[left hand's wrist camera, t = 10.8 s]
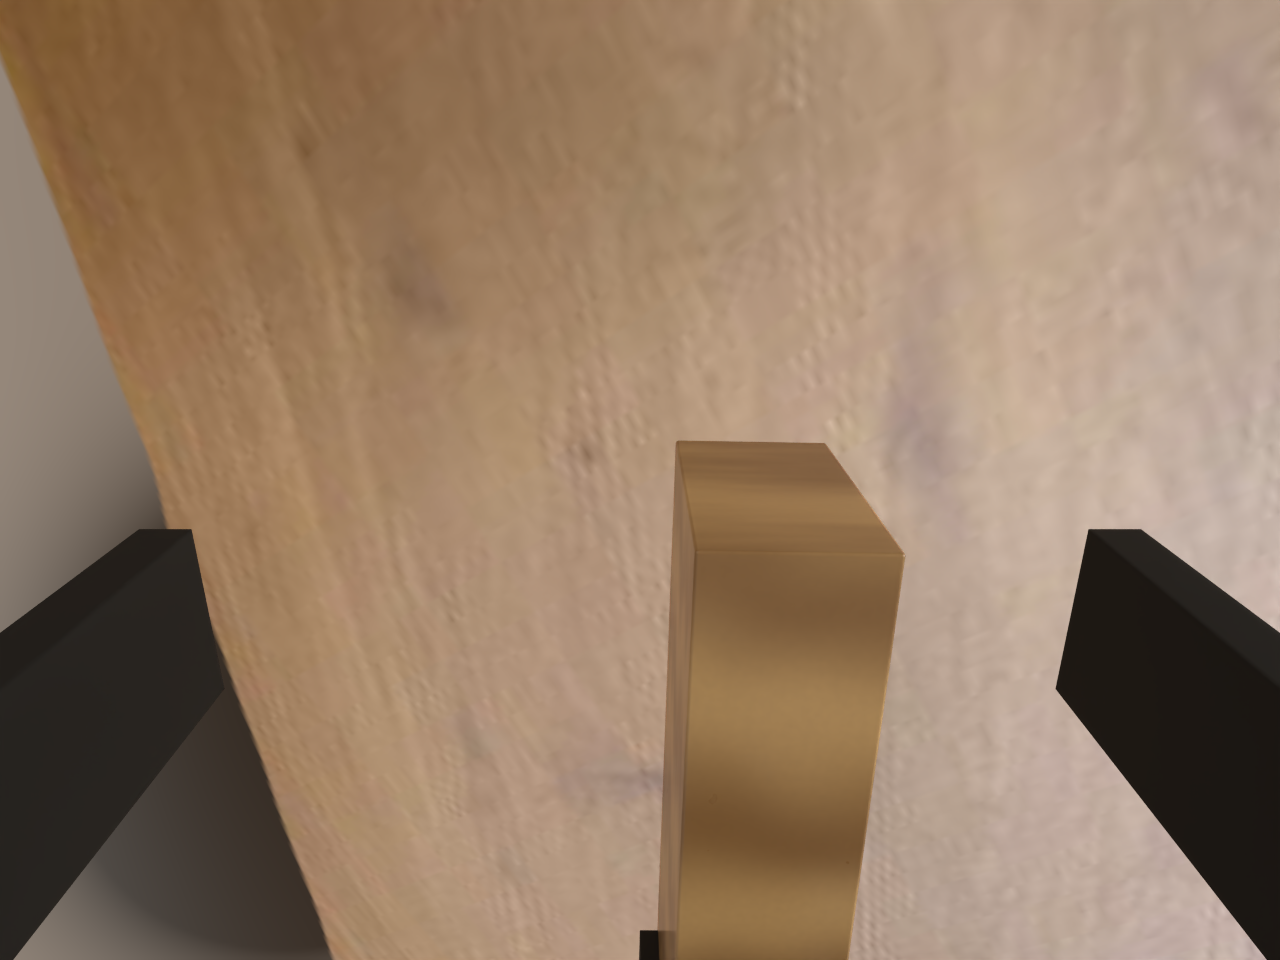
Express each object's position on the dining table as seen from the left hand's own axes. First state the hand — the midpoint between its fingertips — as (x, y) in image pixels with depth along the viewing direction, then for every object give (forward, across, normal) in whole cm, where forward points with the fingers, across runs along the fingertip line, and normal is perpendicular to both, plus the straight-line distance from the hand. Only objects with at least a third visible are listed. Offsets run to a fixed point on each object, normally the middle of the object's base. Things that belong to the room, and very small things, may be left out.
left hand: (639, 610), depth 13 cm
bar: (+14, +3, -14) cm, 20 cm away
